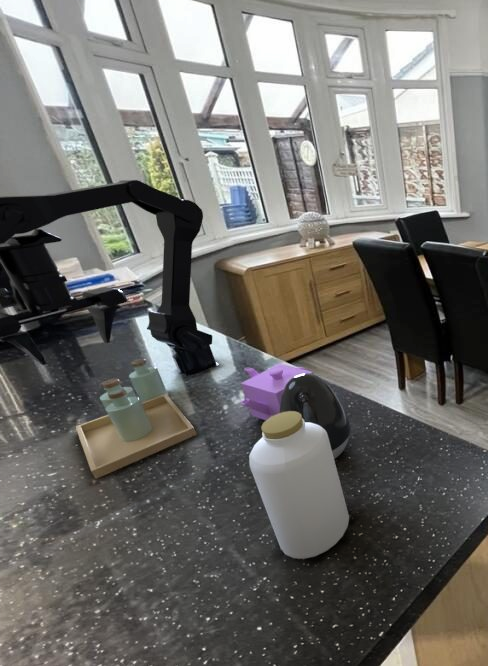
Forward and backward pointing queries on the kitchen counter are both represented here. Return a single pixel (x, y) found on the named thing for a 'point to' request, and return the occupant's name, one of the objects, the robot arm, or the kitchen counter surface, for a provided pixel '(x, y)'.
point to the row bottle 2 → (128, 416)
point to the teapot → (267, 389)
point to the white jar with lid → (299, 485)
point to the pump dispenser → (317, 408)
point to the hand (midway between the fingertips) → (77, 352)
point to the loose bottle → (146, 381)
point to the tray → (114, 453)
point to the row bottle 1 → (111, 386)
